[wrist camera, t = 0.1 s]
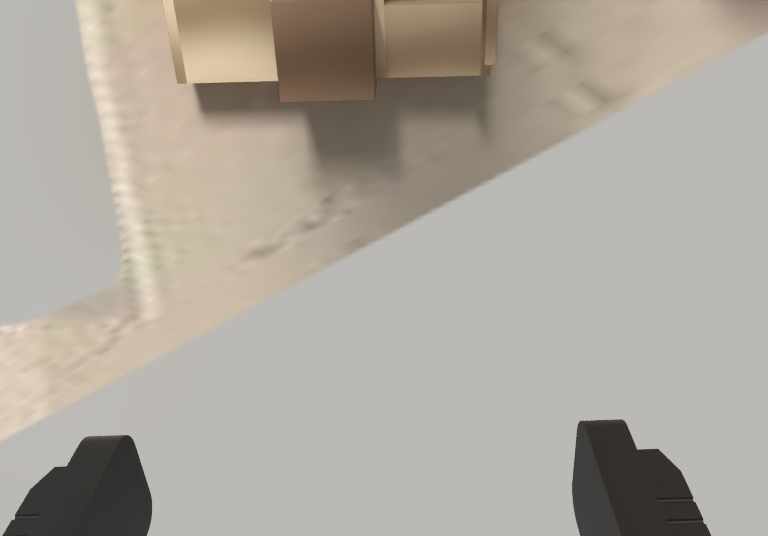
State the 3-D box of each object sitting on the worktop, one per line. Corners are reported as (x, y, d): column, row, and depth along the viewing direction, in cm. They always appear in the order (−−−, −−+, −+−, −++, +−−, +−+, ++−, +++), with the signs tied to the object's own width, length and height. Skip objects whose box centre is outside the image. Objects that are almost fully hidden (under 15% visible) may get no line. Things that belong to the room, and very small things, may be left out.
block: (279, -8, 34) (269, 2, 31) (373, -11, 34) (370, -1, 31) (289, 85, 36) (280, 102, 33) (376, 83, 36) (374, 99, 33)
